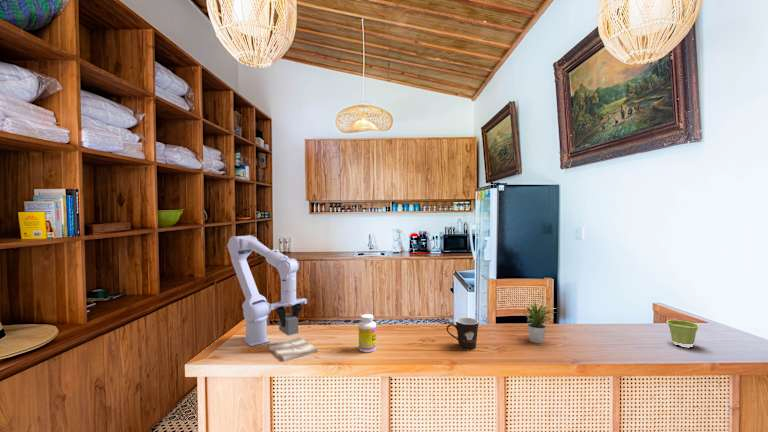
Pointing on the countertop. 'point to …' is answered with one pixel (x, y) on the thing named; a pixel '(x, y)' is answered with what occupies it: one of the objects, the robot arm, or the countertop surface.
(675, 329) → the plant pot
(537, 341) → the house plant
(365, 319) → the supplement bottle
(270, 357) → the countertop surface
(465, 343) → the coffee mug
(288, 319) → the block
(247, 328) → the robot arm
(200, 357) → the countertop surface
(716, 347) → the countertop surface
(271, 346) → the ash board
